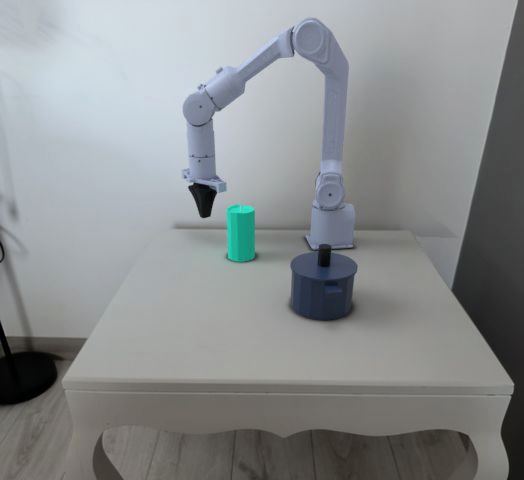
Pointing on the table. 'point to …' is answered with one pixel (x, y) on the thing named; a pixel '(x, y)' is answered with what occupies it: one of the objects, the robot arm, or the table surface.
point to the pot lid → (323, 265)
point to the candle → (241, 232)
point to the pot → (321, 298)
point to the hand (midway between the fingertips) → (205, 216)
